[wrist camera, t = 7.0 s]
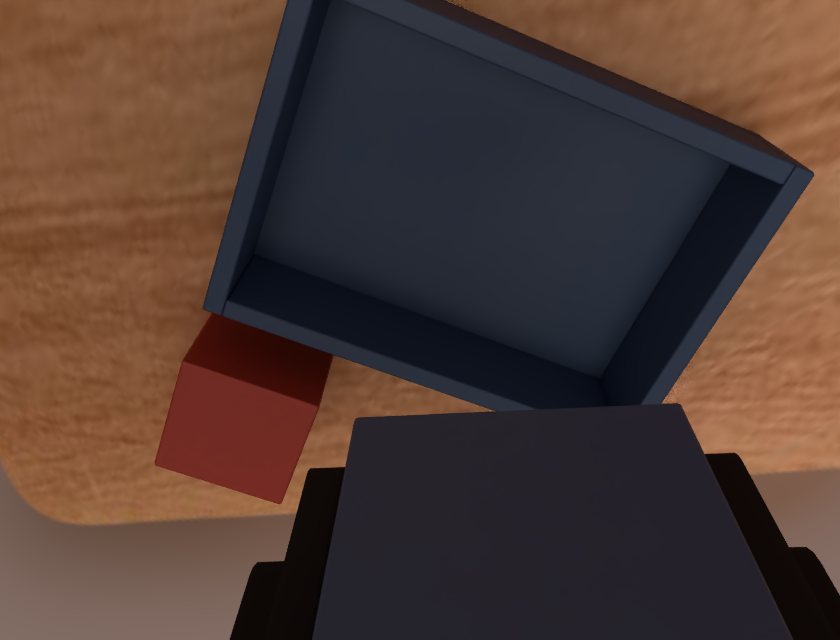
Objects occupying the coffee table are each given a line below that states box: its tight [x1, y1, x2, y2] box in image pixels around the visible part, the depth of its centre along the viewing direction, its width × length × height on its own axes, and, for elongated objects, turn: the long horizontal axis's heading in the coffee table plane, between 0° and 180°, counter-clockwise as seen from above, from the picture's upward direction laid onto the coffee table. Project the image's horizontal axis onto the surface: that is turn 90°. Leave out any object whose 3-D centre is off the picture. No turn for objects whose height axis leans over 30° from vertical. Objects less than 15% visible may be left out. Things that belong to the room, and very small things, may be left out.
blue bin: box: [203, 0, 814, 411], centre depth 22 cm, size 14×10×4 cm
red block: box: [155, 313, 334, 504], centre depth 26 cm, size 4×4×4 cm
